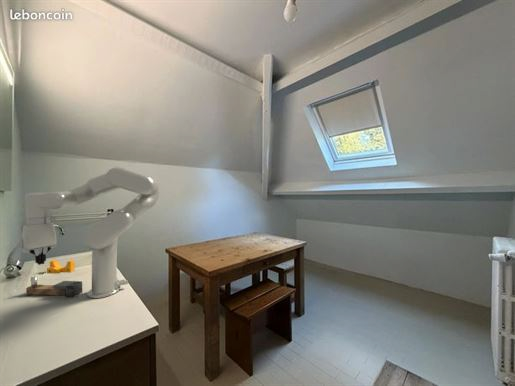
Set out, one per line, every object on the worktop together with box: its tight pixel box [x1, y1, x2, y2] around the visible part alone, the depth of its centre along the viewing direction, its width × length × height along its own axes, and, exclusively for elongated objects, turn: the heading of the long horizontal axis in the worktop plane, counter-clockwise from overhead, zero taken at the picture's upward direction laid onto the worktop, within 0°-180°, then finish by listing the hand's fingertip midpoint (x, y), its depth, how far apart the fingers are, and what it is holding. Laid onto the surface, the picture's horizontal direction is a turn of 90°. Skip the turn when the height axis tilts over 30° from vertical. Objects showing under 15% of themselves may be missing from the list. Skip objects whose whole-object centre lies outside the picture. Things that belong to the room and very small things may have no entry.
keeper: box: [52, 280, 83, 299], centre depth 99 cm, size 9×5×5 cm, turn 86°
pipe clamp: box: [46, 259, 75, 275], centre depth 126 cm, size 12×4×6 cm, turn 90°
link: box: [25, 284, 66, 296], centre depth 100 cm, size 18×5×2 cm, turn 89°
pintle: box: [30, 276, 38, 287], centre depth 100 cm, size 2×2×4 cm
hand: (40, 263), depth 94 cm, fingers closed
